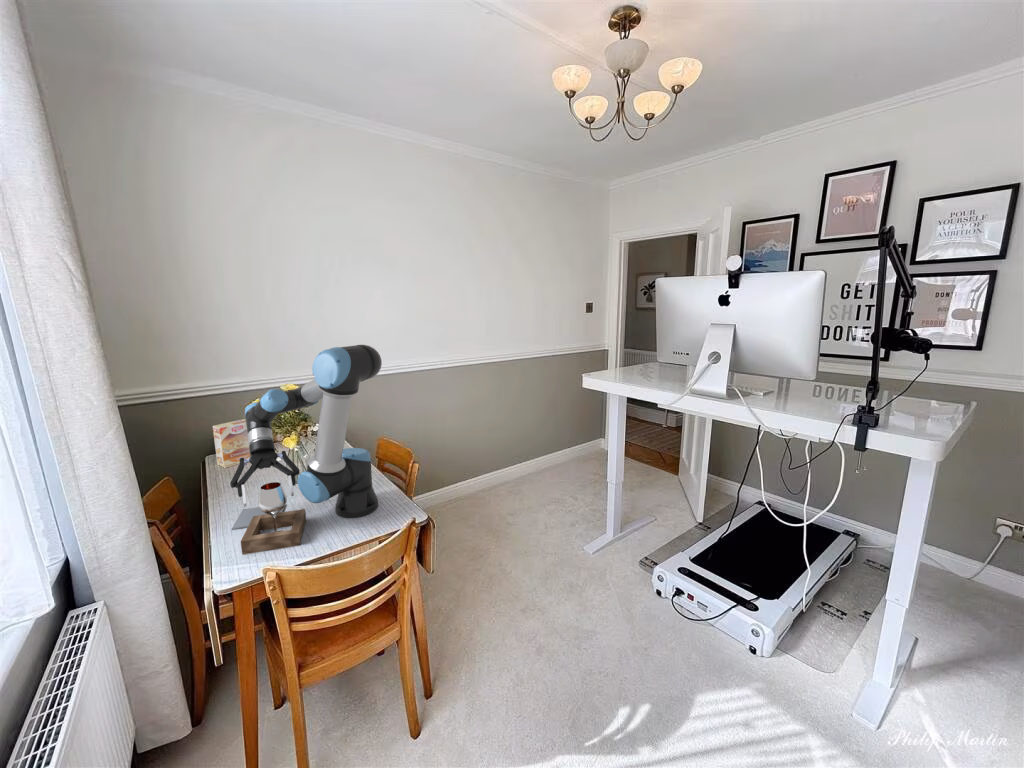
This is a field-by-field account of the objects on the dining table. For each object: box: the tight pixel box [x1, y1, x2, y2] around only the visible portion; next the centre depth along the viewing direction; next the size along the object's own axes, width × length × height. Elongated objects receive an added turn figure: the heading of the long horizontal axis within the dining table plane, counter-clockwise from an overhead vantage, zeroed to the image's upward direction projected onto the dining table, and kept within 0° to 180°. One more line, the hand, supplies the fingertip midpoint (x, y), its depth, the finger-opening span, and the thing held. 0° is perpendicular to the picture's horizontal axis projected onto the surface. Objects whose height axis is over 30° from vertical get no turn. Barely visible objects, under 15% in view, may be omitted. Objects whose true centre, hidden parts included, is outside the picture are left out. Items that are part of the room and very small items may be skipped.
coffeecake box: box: [212, 418, 250, 469], centre depth 198 cm, size 15×7×20 cm, turn 149°
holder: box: [240, 508, 307, 555], centre depth 137 cm, size 16×16×4 cm
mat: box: [231, 506, 285, 531], centre depth 150 cm, size 14×14×1 cm
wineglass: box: [257, 481, 288, 533], centre depth 136 cm, size 8×8×18 cm
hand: (269, 499), depth 137 cm, fingers open, 13 cm apart
